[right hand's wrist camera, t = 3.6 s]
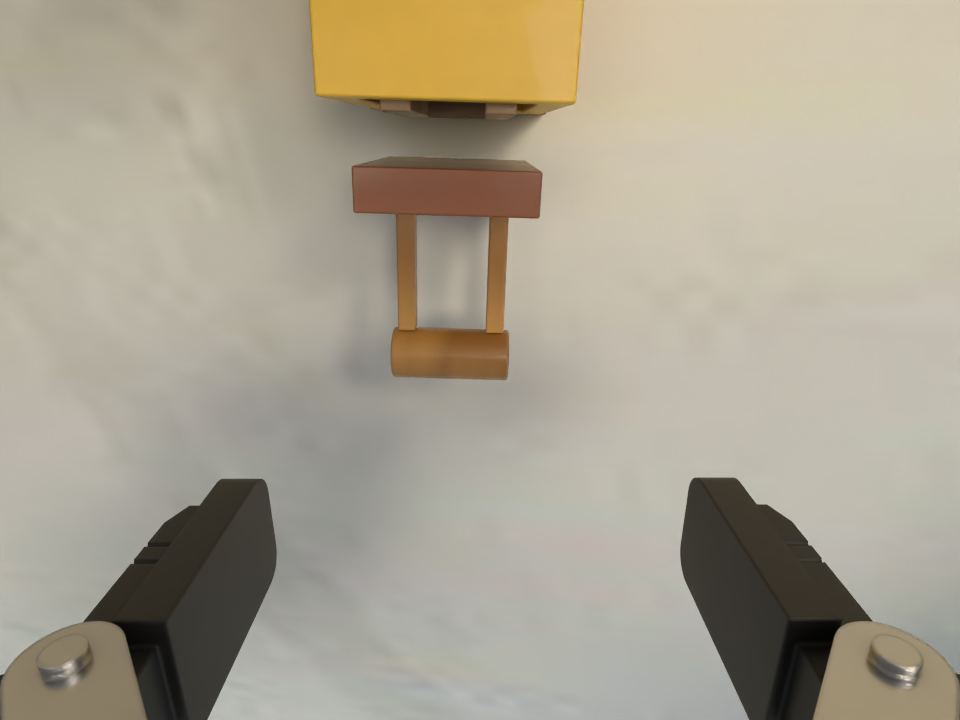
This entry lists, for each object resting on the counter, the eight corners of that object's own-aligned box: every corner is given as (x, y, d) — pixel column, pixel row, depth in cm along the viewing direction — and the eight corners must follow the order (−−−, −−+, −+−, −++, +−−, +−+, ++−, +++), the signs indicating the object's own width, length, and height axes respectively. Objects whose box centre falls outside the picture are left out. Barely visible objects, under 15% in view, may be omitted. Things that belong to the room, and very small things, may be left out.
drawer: (515, 348, 24) (526, 422, 18) (393, 345, 24) (362, 418, 18) (558, -441, 16) (604, -796, 10) (375, -448, 16) (307, -807, 10)
